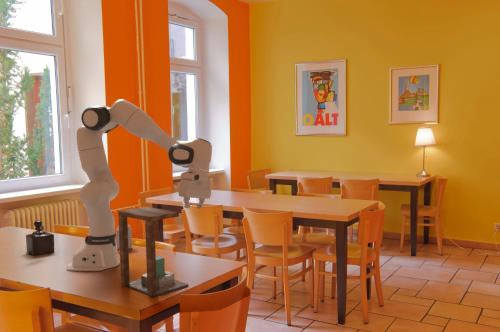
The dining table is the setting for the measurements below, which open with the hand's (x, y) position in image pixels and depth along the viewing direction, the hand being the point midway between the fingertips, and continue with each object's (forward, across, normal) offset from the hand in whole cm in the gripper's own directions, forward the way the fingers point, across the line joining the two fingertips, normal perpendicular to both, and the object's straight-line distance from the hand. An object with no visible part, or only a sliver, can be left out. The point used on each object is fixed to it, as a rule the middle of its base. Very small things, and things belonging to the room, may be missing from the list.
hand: (193, 208), depth 207 cm
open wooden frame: (+30, +22, 0) cm, 37 cm away
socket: (+30, +18, +1) cm, 35 cm away
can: (+29, -22, -52) cm, 64 cm away
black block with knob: (+36, +2, -84) cm, 91 cm away
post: (+30, +18, +1) cm, 35 cm away
